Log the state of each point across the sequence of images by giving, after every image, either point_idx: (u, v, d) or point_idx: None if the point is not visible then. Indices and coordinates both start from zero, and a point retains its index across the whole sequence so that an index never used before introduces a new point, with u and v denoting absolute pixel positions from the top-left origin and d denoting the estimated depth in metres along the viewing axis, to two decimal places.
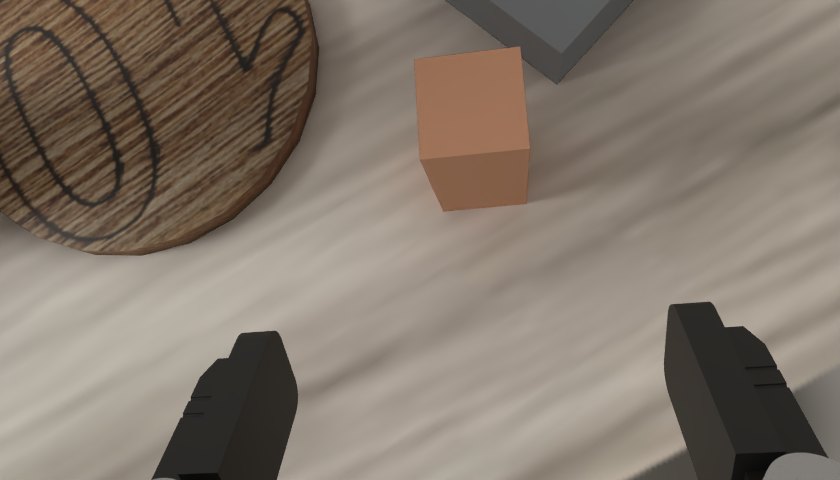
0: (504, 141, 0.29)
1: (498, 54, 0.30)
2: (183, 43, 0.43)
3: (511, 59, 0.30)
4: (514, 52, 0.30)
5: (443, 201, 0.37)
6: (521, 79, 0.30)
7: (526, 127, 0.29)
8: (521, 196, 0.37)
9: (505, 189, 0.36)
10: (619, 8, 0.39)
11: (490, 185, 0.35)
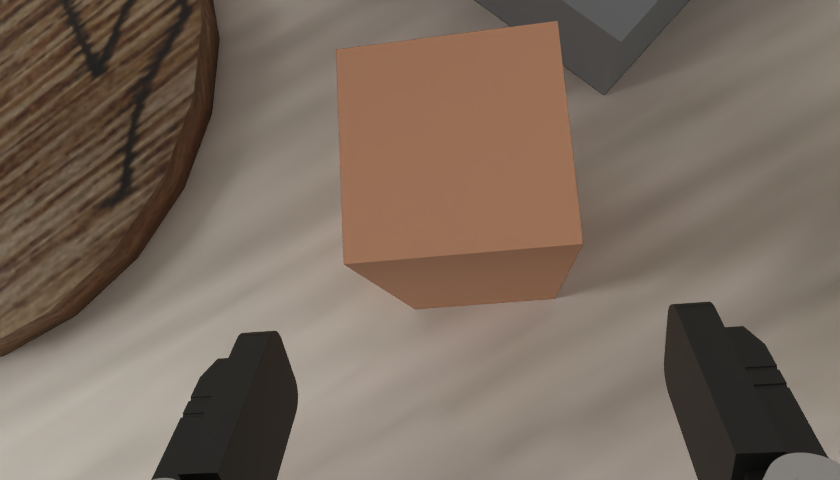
0: (525, 226, 0.13)
1: (511, 38, 0.14)
2: (2, 31, 0.27)
3: (537, 49, 0.14)
4: (545, 33, 0.14)
5: (411, 302, 0.21)
6: (561, 90, 0.14)
7: (574, 196, 0.13)
8: (549, 292, 0.21)
9: (522, 288, 0.20)
10: None
11: (495, 285, 0.19)
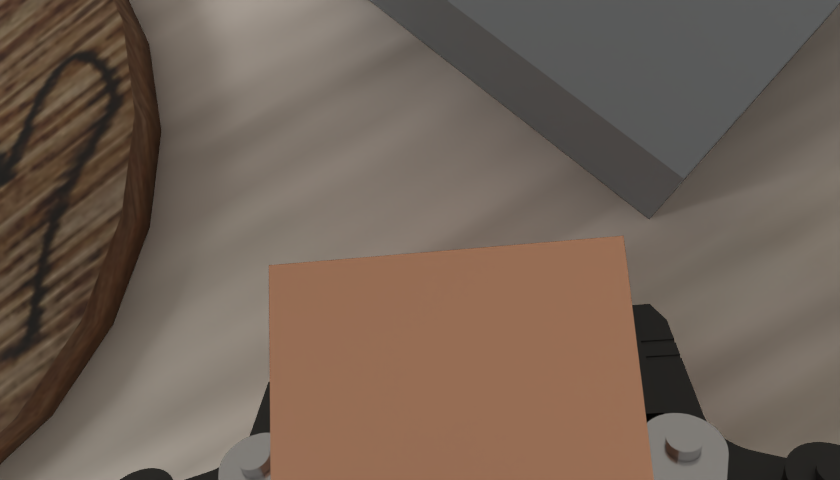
0: None
1: (547, 261, 0.09)
2: None
3: (590, 284, 0.09)
4: (603, 256, 0.09)
5: None
6: (631, 359, 0.08)
7: None
8: None
9: None
10: None
11: None
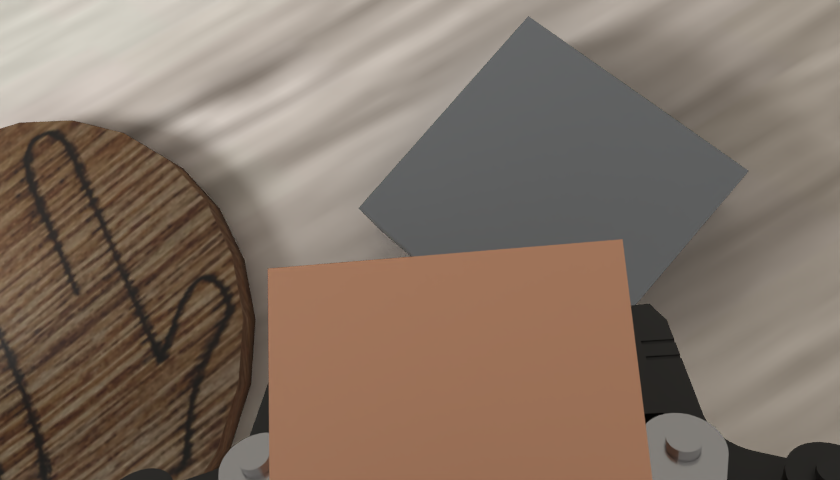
0: None
1: (546, 265, 0.09)
2: (82, 318, 0.34)
3: (590, 287, 0.09)
4: (602, 260, 0.09)
5: None
6: (630, 362, 0.08)
7: None
8: None
9: None
10: None
11: None
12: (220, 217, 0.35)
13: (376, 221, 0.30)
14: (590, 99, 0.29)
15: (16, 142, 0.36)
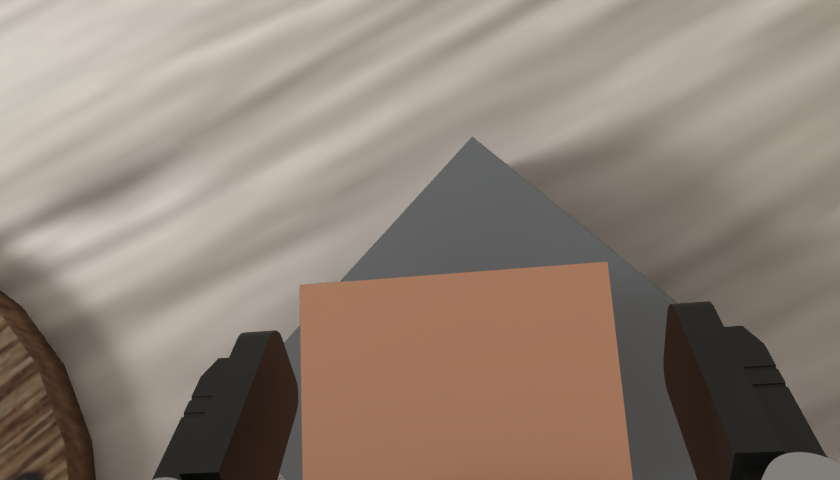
0: None
1: (542, 283, 0.10)
2: None
3: (579, 303, 0.10)
4: (590, 279, 0.10)
5: None
6: (613, 368, 0.10)
7: None
8: None
9: None
10: None
11: None
12: (61, 381, 0.26)
13: None
14: None
15: None
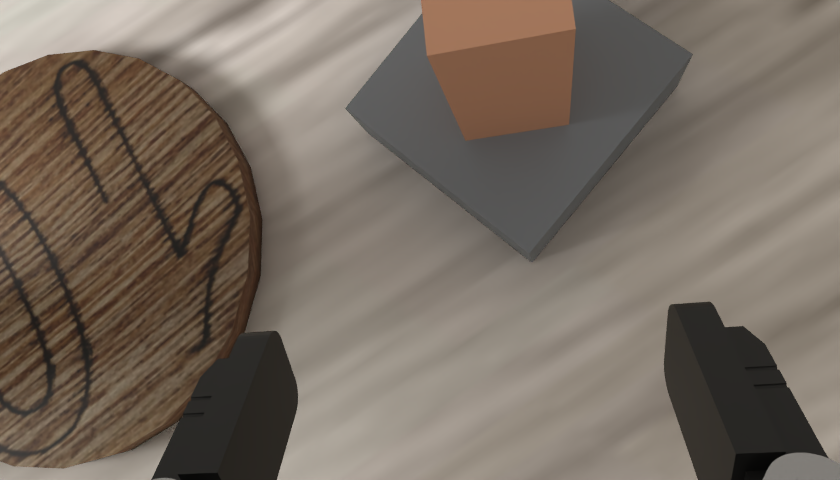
0: (539, 22, 0.22)
1: None
2: (112, 223, 0.38)
3: None
4: None
5: (464, 125, 0.30)
6: None
7: (569, 0, 0.21)
8: (563, 113, 0.29)
9: (543, 102, 0.28)
10: (600, 175, 0.33)
11: (523, 96, 0.27)
12: (227, 130, 0.39)
13: (361, 119, 0.33)
14: None
15: (47, 72, 0.41)
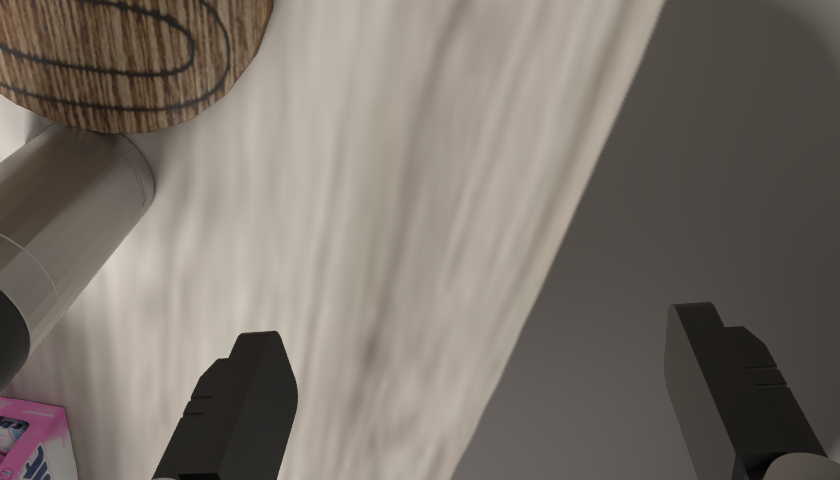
0: None
1: None
2: None
3: None
4: None
5: None
6: None
7: None
8: None
9: None
10: None
11: None
12: None
13: None
14: None
15: None
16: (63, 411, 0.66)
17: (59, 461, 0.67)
